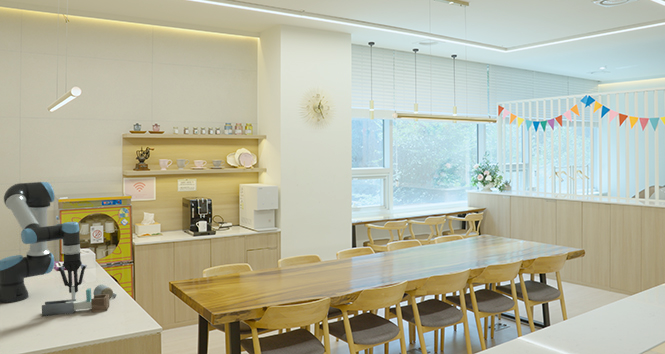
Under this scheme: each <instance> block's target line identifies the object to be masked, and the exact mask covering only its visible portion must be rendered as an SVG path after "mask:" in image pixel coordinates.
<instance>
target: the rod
mask: <svg viewBox="0 0 665 354" xmlns="http://www.w3.org/2000/svg"><path fill="white" fill-rule="evenodd" d="M85 293H86V294H85V295H86V299H84V300H76V301H72V302H73V303H74V310H76V311H78V310H89V309H90V310H92V305H91V299H92V288H91V287H90V288H89V287H88V288H87V289H86V290H85ZM66 303H70V302H66Z"/></svg>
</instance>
